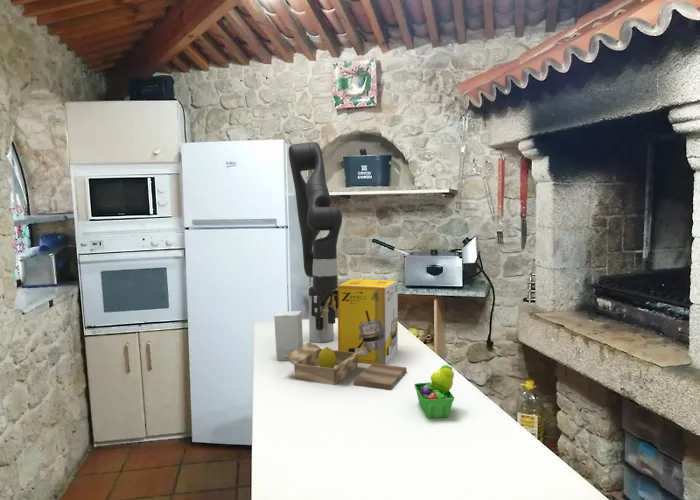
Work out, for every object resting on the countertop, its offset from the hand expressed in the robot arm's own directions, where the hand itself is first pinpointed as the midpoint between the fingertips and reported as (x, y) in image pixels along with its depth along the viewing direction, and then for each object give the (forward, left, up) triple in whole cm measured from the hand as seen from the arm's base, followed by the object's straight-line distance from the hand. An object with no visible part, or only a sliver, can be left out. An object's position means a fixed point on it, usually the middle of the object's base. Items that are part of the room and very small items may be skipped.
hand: (325, 326), depth 150 cm
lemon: (0, 0, -15) cm, 15 cm away
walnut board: (-1, +17, -14) cm, 22 cm away
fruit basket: (+16, +37, -15) cm, 43 cm away
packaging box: (-21, +6, -15) cm, 26 cm away
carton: (0, 0, -14) cm, 14 cm away
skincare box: (-9, -18, -15) cm, 25 cm away
